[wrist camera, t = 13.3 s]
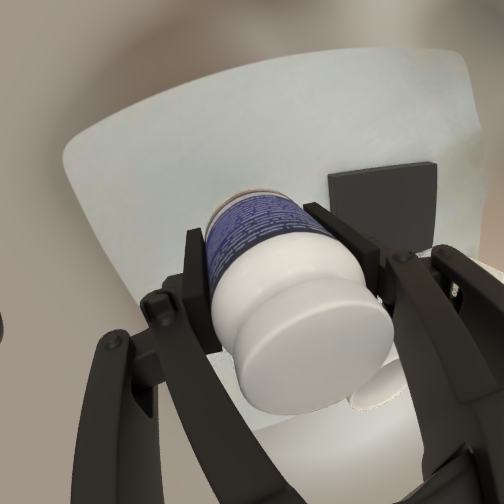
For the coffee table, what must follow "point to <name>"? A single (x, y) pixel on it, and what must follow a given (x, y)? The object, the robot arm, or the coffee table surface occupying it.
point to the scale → (389, 203)
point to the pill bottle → (290, 305)
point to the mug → (381, 385)
